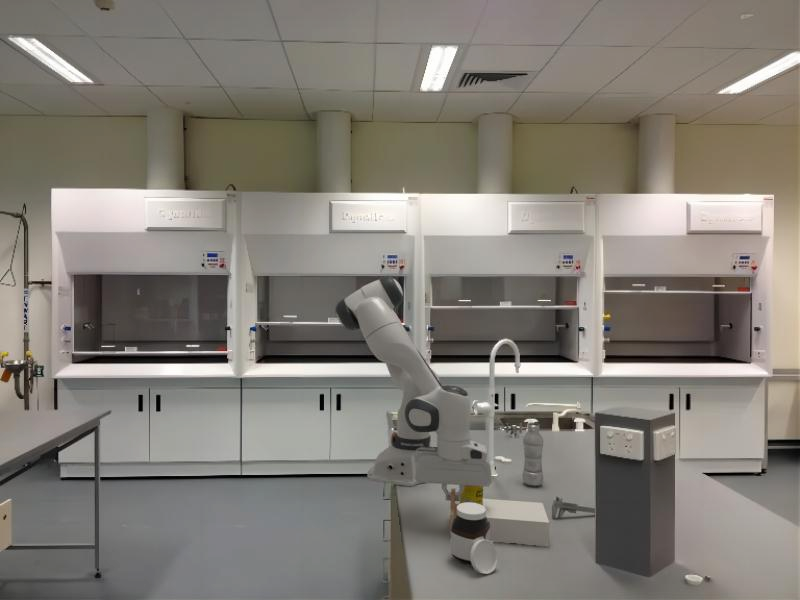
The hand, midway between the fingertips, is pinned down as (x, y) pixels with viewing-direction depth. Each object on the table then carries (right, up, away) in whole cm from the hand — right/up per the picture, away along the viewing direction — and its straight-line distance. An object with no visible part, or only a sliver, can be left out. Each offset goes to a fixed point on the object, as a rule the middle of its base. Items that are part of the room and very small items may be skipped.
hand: (453, 500), depth 131 cm
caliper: (+39, -8, +8) cm, 40 cm away
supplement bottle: (+7, -8, +13) cm, 17 cm away
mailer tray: (+7, -7, -1) cm, 10 cm away
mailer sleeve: (+16, -8, -2) cm, 17 cm away
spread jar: (+3, -8, -17) cm, 19 cm away
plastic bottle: (+30, -8, +32) cm, 44 cm away
